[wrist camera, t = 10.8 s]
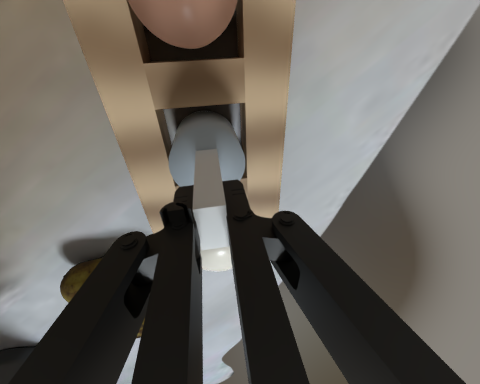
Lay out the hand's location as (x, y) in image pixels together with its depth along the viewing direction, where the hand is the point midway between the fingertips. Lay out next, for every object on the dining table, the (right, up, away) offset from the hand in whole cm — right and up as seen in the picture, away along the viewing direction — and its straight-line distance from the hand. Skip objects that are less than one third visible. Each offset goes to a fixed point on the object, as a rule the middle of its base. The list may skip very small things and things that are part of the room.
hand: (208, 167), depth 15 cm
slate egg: (-1, +3, +4) cm, 5 cm away
